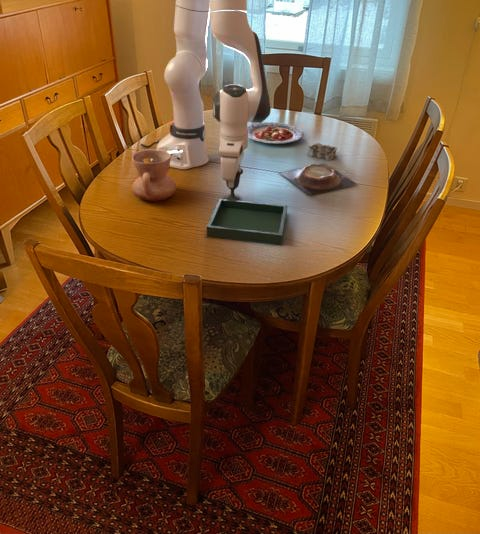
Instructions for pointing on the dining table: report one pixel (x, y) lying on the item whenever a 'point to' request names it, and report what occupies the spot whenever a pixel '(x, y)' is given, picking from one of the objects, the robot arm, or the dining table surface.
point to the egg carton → (322, 151)
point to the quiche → (318, 178)
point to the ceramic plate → (274, 132)
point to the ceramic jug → (153, 175)
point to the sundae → (236, 183)
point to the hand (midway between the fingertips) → (233, 181)
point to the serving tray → (248, 221)
